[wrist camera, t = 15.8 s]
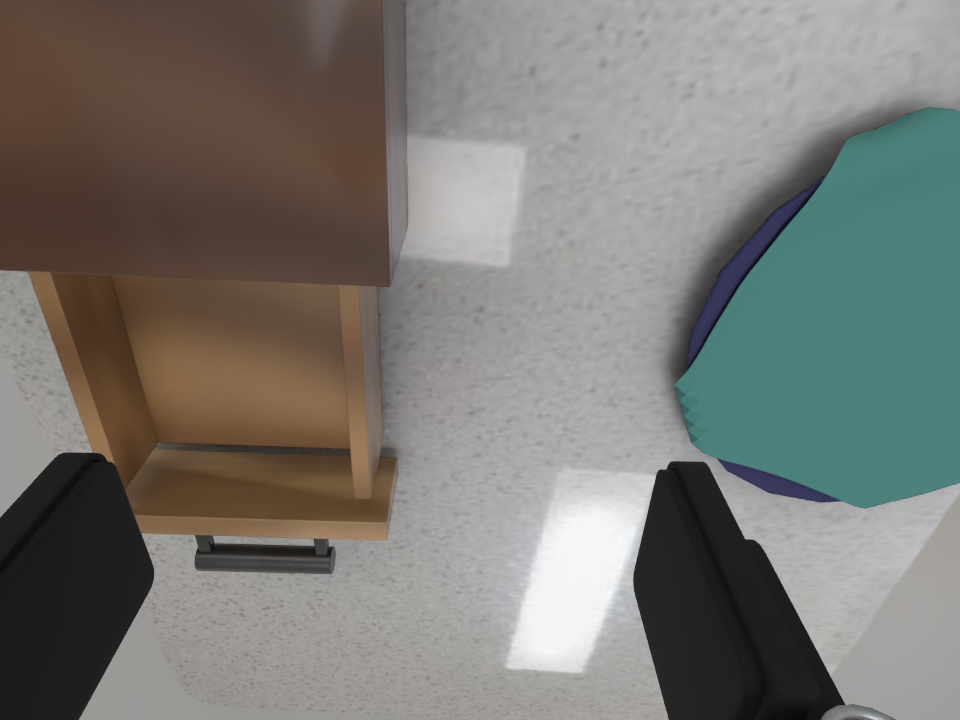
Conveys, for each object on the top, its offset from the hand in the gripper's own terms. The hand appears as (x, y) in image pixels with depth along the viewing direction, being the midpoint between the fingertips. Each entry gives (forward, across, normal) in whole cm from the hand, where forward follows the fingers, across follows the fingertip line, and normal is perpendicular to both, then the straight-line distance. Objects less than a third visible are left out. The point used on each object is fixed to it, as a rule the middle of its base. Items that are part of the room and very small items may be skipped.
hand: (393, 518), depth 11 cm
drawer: (+17, +9, +8) cm, 21 cm away
